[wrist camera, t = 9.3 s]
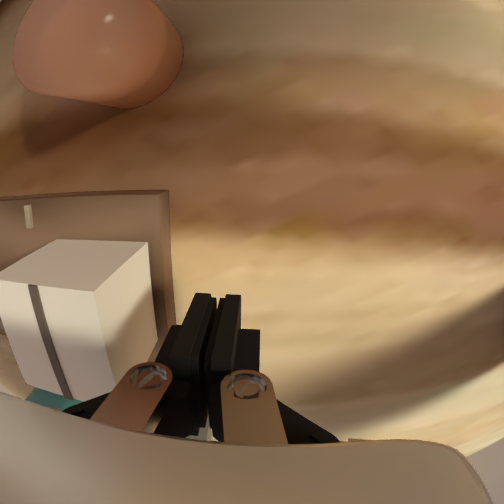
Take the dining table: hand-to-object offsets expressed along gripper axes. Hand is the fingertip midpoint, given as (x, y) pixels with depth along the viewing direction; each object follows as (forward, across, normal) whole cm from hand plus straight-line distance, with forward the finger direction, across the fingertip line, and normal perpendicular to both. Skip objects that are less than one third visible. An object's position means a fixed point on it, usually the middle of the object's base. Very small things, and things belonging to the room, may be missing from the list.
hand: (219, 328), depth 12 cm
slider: (+2, +6, 0) cm, 6 cm away
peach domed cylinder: (+4, +5, -11) cm, 13 cm away
